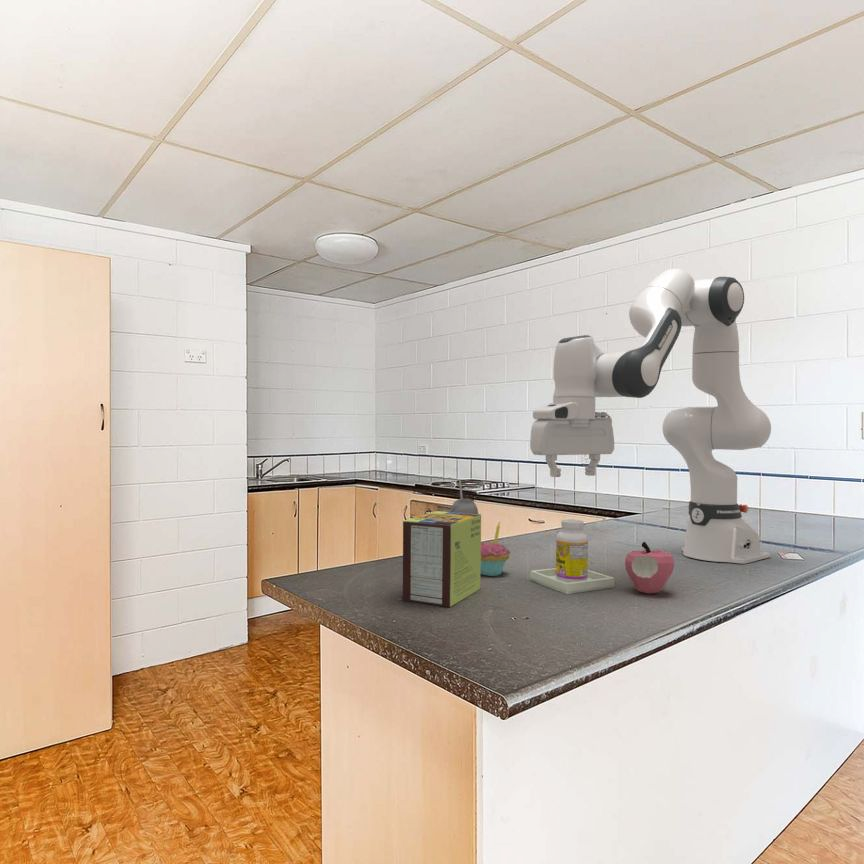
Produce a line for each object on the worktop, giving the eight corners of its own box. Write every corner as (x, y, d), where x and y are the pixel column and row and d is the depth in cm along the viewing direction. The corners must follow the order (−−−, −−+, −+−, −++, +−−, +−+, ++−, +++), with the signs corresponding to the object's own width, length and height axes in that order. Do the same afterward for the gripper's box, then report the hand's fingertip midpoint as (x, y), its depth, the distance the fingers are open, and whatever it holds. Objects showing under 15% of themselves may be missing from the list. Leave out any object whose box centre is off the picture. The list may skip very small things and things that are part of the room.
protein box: (481, 589, 131) (482, 513, 130) (450, 608, 117) (451, 524, 117) (435, 582, 135) (436, 510, 135) (400, 600, 121) (401, 519, 121)
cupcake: (514, 571, 146) (514, 519, 146) (502, 579, 138) (502, 525, 138) (479, 567, 150) (479, 517, 149) (465, 575, 142) (466, 521, 142)
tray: (575, 574, 144) (575, 565, 144) (614, 587, 133) (614, 578, 133) (529, 580, 138) (529, 570, 138) (566, 594, 127) (566, 584, 127)
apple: (618, 592, 129) (619, 543, 128) (632, 584, 136) (632, 537, 136) (667, 600, 123) (668, 549, 123) (678, 591, 130) (679, 543, 130)
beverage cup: (476, 564, 153) (477, 481, 152) (446, 563, 154) (447, 481, 154) (480, 558, 160) (481, 479, 159) (451, 557, 161) (452, 478, 161)
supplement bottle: (552, 577, 139) (553, 518, 139) (581, 576, 139) (582, 518, 139) (560, 584, 132) (561, 523, 132) (591, 584, 132) (592, 523, 132)
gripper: (601, 412, 143) (600, 473, 143) (526, 410, 133) (525, 476, 134) (621, 412, 137) (620, 475, 137) (544, 410, 128) (543, 478, 128)
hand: (573, 476), depth 135 cm, fingers open, 8 cm apart
